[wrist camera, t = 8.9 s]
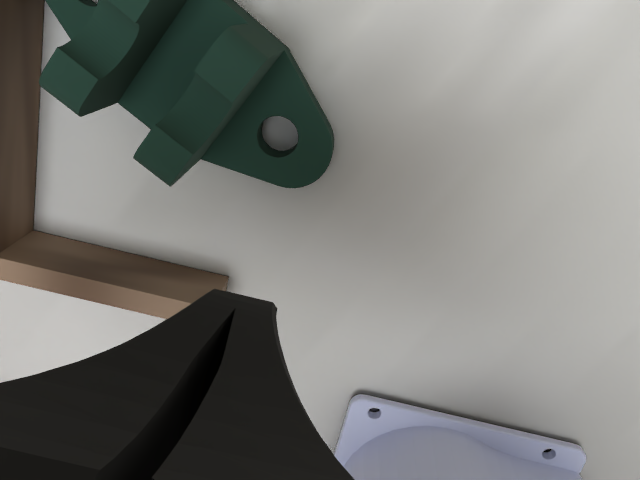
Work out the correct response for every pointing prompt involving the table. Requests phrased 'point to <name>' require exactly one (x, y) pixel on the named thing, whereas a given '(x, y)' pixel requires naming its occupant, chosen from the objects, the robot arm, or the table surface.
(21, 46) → the dock bay
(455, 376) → the table surface
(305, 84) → the mount
